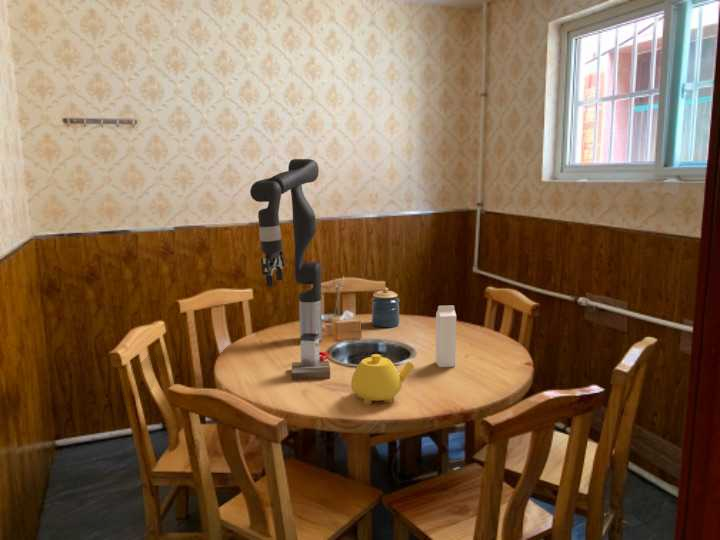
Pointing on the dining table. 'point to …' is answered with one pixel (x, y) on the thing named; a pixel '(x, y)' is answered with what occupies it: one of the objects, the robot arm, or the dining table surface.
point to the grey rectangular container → (309, 350)
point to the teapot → (378, 379)
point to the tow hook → (321, 352)
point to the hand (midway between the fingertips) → (275, 283)
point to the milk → (446, 336)
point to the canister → (385, 309)
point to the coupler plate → (310, 371)
